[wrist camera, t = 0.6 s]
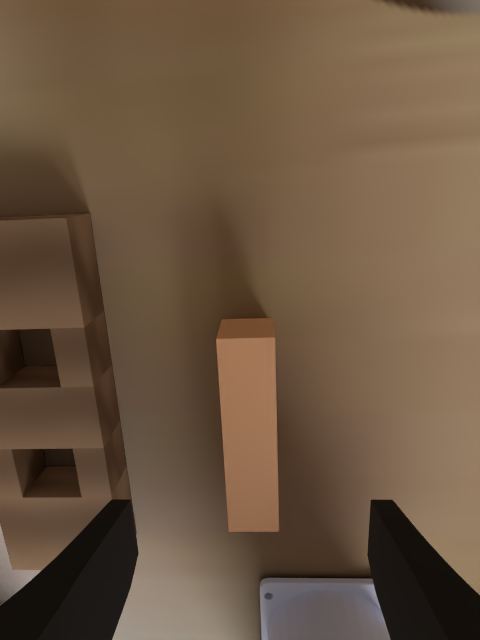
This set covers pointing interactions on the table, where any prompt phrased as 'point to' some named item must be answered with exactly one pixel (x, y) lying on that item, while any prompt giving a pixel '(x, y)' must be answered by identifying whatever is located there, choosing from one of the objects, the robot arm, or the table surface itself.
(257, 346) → the tan wooden block
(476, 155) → the table surface
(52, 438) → the rail
